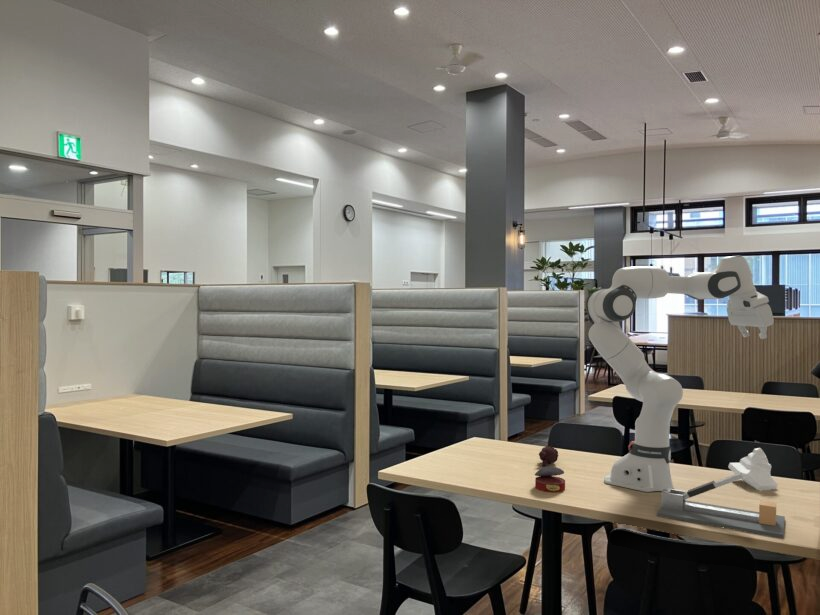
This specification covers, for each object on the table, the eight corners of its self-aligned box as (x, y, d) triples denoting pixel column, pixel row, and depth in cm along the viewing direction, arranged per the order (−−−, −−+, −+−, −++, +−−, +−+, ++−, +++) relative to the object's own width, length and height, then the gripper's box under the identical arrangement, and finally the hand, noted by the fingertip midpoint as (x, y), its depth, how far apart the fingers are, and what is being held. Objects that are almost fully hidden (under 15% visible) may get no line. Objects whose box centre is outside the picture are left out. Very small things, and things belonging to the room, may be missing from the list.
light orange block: (759, 523, 180) (759, 504, 180) (760, 518, 185) (760, 500, 185) (775, 525, 178) (775, 507, 178) (776, 520, 183) (776, 502, 183)
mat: (657, 516, 188) (657, 512, 188) (667, 500, 204) (668, 497, 204) (783, 538, 172) (783, 534, 172) (784, 519, 187) (784, 516, 187)
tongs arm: (674, 504, 193) (671, 498, 193) (676, 501, 196) (673, 495, 196) (743, 478, 183) (739, 472, 184) (743, 476, 186) (740, 470, 187)
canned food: (536, 503, 214) (523, 475, 216) (549, 493, 222) (536, 466, 224) (564, 494, 207) (550, 465, 209) (576, 484, 215) (563, 456, 217)
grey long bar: (661, 507, 194) (661, 492, 194) (664, 502, 198) (664, 487, 198) (775, 526, 178) (775, 510, 178) (776, 520, 183) (776, 505, 183)
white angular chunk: (761, 484, 231) (774, 447, 229) (777, 500, 216) (791, 461, 214) (725, 473, 233) (738, 437, 231) (739, 488, 218) (753, 449, 216)
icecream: (545, 442, 259) (530, 452, 246) (562, 440, 254) (547, 450, 242) (550, 459, 258) (534, 470, 246) (567, 457, 254) (552, 468, 242)
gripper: (718, 302, 234) (729, 338, 235) (754, 302, 214) (765, 342, 215) (734, 297, 235) (744, 333, 236) (771, 297, 215) (782, 336, 215)
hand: (755, 337), depth 225 cm, fingers open, 8 cm apart
